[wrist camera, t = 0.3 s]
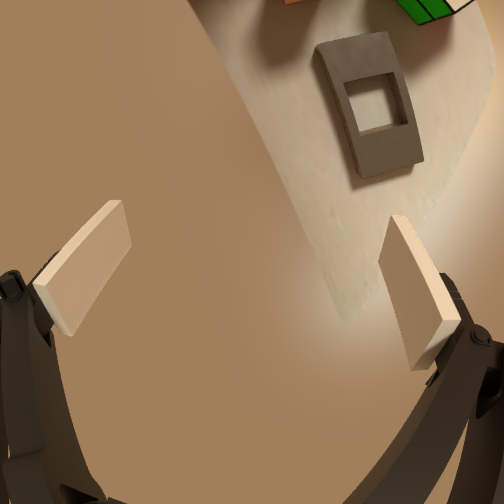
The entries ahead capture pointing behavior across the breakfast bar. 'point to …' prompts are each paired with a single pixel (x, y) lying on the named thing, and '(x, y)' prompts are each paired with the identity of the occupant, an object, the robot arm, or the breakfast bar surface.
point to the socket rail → (361, 143)
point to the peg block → (291, 1)
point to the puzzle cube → (432, 9)
